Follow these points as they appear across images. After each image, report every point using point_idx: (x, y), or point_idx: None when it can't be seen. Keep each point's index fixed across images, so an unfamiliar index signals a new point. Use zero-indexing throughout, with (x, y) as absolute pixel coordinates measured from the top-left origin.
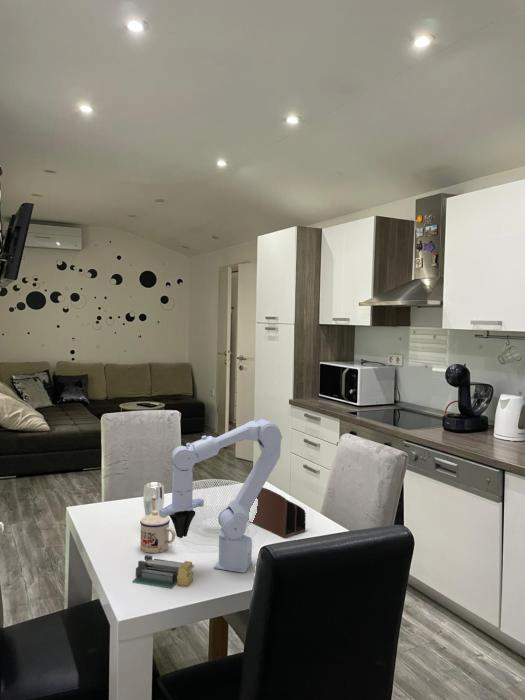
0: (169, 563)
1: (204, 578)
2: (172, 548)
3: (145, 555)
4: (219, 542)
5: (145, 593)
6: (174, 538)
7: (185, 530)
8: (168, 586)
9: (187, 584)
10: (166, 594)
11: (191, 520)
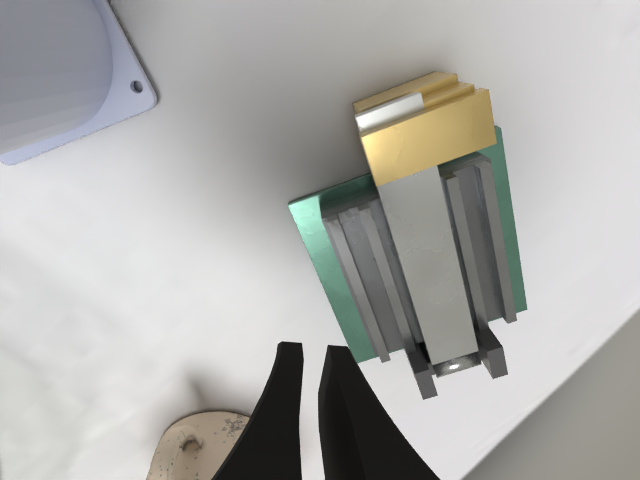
0: (422, 257)
1: (293, 58)
2: (165, 405)
3: (428, 397)
4: (4, 121)
5: (591, 193)
6: (167, 438)
7: (300, 389)
8: (502, 146)
9: (436, 73)
10: (562, 102)
11: (224, 473)
